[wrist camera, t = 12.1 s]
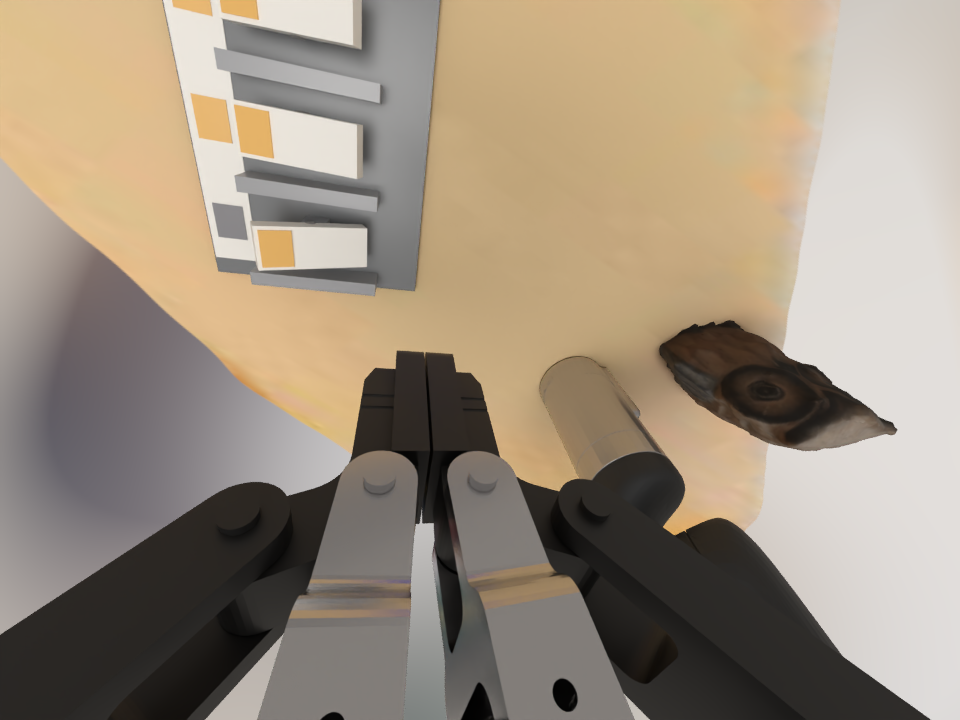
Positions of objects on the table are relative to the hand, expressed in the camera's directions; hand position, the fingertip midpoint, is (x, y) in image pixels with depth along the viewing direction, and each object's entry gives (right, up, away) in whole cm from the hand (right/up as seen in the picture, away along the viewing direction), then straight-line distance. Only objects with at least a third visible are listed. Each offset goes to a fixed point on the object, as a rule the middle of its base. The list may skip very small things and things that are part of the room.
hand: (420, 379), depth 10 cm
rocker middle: (-12, +18, +18) cm, 28 cm away
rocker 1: (-11, +24, +14) cm, 30 cm away
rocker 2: (-13, +11, +22) cm, 28 cm away
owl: (+33, +1, +44) cm, 55 cm away
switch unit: (-13, +20, +22) cm, 32 cm away
